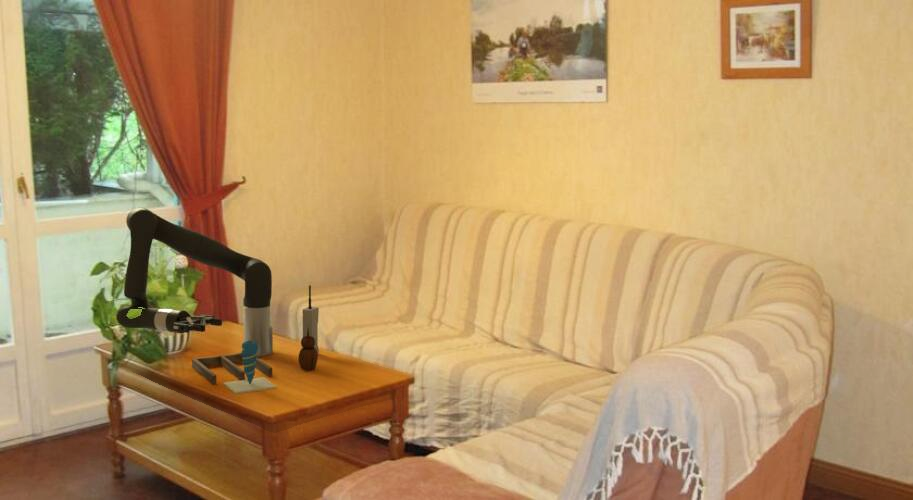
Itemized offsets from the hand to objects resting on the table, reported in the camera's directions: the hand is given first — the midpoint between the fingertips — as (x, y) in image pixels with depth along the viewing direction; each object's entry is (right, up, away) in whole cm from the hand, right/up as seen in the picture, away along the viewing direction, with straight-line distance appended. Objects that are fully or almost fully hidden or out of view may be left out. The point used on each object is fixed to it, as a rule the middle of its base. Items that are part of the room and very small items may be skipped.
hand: (213, 325), depth 315 cm
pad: (+13, -18, -6) cm, 24 cm away
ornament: (+13, -18, -6) cm, 23 cm away
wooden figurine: (+28, -16, +14) cm, 35 cm away
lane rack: (+4, -16, +8) cm, 19 cm away
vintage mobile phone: (+26, -13, +32) cm, 44 cm away
